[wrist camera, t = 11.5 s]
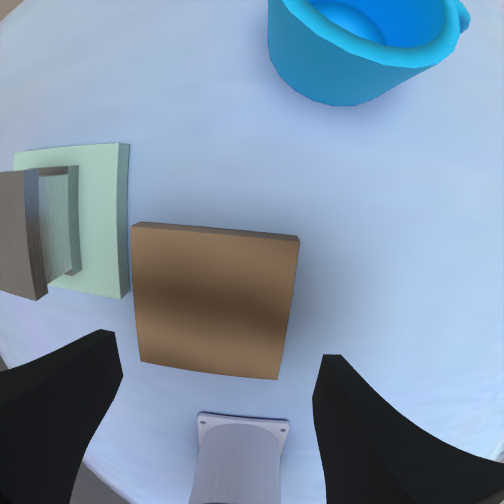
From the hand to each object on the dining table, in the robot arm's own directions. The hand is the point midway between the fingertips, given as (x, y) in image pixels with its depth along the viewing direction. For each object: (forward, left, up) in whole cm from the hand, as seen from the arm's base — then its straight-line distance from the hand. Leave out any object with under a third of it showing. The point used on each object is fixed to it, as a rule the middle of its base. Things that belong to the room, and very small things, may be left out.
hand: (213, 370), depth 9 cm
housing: (+3, +13, -8) cm, 15 cm away
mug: (+16, -6, -10) cm, 20 cm away
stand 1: (+3, +13, -10) cm, 16 cm away
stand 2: (-2, +2, -10) cm, 10 cm away
